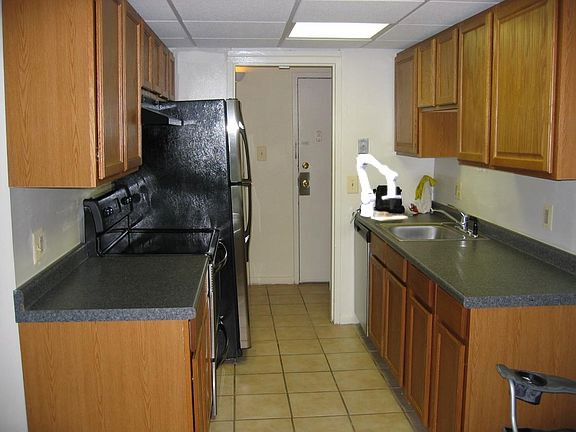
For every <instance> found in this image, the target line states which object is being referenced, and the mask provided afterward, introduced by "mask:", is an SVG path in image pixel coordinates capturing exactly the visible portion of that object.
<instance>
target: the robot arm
mask: <svg viewBox="0 0 576 432" xmlns="http://www.w3.org/2000/svg"><path fill="white" fill-rule="evenodd" d="M356 162H357V164H356V170H357V173H358V178H359V182H360V185H361V189H362V192H361V201H362V204H361V205H360V210H361V211H360V216H362V217H373V211H375V210H374V206H375V205H374V203H375V201H376V195H375V194H374V191H373V190H372V189H371V187H370V183H369V179H368V175H367V172H366V167H367V165H369V164H371V165H372V166H373V167H375V168H377V169H378V171H379V173H380V174H382V176H385V179H386V180H387V195H384V196H381V199H382V200H386V201H387V203H388V206H389V209H390V210H394V208H395V207H394V206H395V204H396V201H397V199H402V195H401V194H399V195H398V194H397V180H398V176H399V175H398V173H397V172H396V171H393V170H391V169H390V168H389V167H388V166H387V165H382V164H381V163H380V162H379V161H378V160H376V159H375V157H373V156H372V155H371V154H369V153H366V154H359V155H358V157H356Z"/></svg>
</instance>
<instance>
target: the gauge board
mask: <svg viewBox="0 0 576 432" xmlns="http://www.w3.org/2000/svg"><path fill="white" fill-rule="evenodd" d="M390 214H391V215H388V216H381V211H377V210H374V211H373V216H370V219H373V220H377V221H382V222H383V221H394V220H405V219H409V217H408V216H406V215H403V214H398V213H390Z"/></svg>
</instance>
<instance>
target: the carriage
mask: <svg viewBox="0 0 576 432" xmlns="http://www.w3.org/2000/svg"><path fill="white" fill-rule="evenodd" d="M391 214H392V213H389V212H387V211H380V215H381V216H388V215H391Z"/></svg>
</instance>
